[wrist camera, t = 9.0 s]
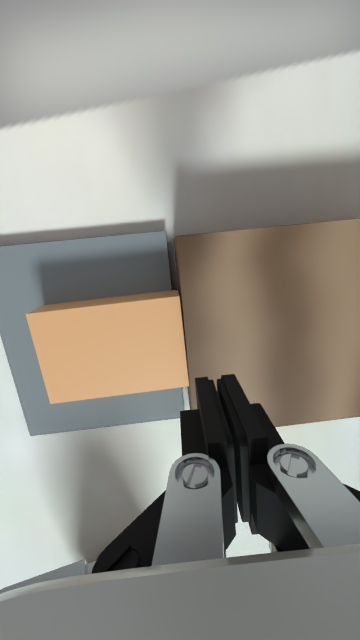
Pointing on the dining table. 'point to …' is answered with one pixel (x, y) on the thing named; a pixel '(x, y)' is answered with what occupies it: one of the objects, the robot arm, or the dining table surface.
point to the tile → (110, 346)
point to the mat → (69, 286)
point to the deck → (276, 316)
